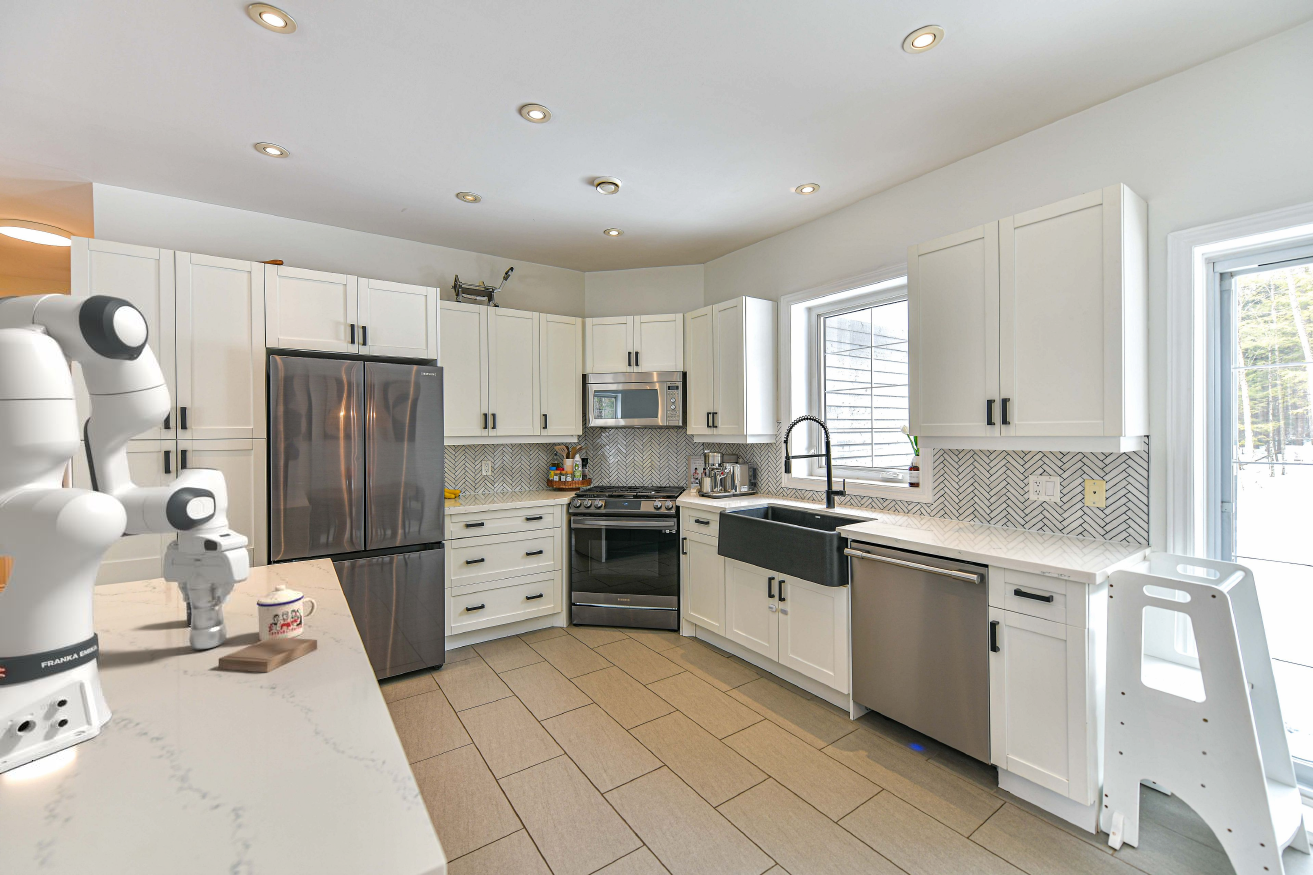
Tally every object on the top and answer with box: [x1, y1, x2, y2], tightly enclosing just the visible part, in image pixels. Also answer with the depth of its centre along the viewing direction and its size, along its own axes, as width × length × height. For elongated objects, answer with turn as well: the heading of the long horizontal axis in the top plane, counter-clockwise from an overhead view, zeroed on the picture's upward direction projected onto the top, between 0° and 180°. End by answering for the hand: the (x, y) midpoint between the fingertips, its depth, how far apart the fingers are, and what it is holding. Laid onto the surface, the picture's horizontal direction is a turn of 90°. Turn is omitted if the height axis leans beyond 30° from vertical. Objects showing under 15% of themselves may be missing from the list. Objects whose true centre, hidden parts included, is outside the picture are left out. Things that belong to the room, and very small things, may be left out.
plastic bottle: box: [187, 560, 228, 651], centre depth 125 cm, size 6×7×20 cm
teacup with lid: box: [256, 584, 317, 641], centre depth 132 cm, size 12×9×12 cm
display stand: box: [218, 637, 318, 673], centre depth 118 cm, size 12×12×2 cm
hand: (206, 602), depth 125 cm, fingers open, 8 cm apart
